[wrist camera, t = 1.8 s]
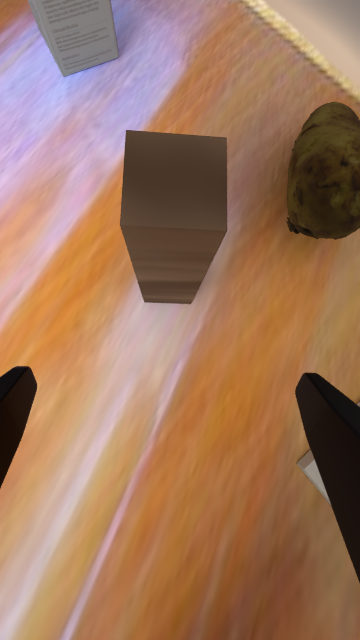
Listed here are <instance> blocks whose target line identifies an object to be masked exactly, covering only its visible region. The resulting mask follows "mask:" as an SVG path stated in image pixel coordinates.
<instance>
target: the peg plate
mask: <svg viewBox="0 0 360 640" xmlns="http://www.w3.org/2000/svg"><path fill="white" fill-rule="evenodd" d="M357 405H358V406H359V407H360V402H359V403H358V404H357ZM297 465H298V466H299V467H300V468H301V469H302V471H303V472H304V473H305V474H306V476H307V477H308V478H309V479H310V481H311V482H312V483H313V484H314V485H315V487H316V488H317V489H318V490H319V492H320V493H321V494H322V495H323V496H324V498H325V499H326V500H327V501H328V503H329V504H330V505H331V503H330V501H329V498H328V495H327V492H326V490H325V487H324V484H323V481H322V479H321V476H320V473H319V471H318V468H317V465H316V462H315V460H314V457H313V454H312V452H311V450H310V451H309V452H308V453H307V454H306V455H304V456H303V457H302V458H301V459H300V460H299V461H298V462H297Z"/></svg>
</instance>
